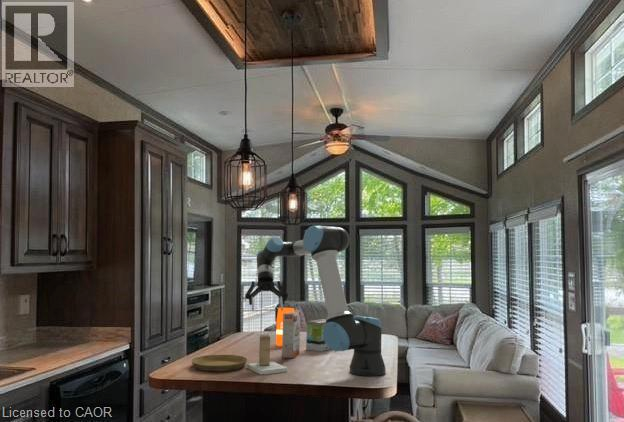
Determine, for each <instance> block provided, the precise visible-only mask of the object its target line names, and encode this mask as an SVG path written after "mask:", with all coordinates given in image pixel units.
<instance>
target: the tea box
mask: <svg viewBox="0 0 624 422" xmlns="http://www.w3.org/2000/svg"><path fill="white" fill-rule="evenodd" d="M326 319H327V318H322V319H321V318H320V319H313V320H307V321H306V339H305V341H306V342H305V349H306V350H309V351H313V352H323V351H326V350H327V351H328V350H332V349H331V348H329V347H328V346H327V345H326V343H325V341H324V338H323V331H324V329H323V328H324V326H325V325H326Z"/></svg>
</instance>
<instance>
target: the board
mask: <svg viewBox="0 0 624 422" xmlns="http://www.w3.org/2000/svg"><path fill="white" fill-rule="evenodd" d="M247 369H249V370H250V371H253V372H255V373H257V374H258V373H259V375H260V374H261V376H262V374H264V375H271V374H279V373H287V372H288V367H286V366H285V365H282V364H280V363H277V362H275V361H270V366H260V364H259V362H255V363H247Z"/></svg>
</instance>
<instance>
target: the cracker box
mask: <svg viewBox="0 0 624 422" xmlns="http://www.w3.org/2000/svg"><path fill="white" fill-rule="evenodd" d="M300 336H301V311H300V310H299V311H297V310H296V311H295V310H294V311H289V312H287V313H285V314H283V338H282V346H281V358H282V359H294V358H296V356H298V355H299V354H300V343H301V342H300V341H301V340H300Z"/></svg>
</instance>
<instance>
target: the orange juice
mask: <svg viewBox="0 0 624 422" xmlns="http://www.w3.org/2000/svg"><path fill="white" fill-rule="evenodd" d="M289 311H295V308H294V307H283V311H281V307H278V310H277V316H276V331H275V333H276V335H275V338H276V339H275V340H276V341H275V345H276V346H279V347H282V338H283V314H285V313H287V312H289Z"/></svg>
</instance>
